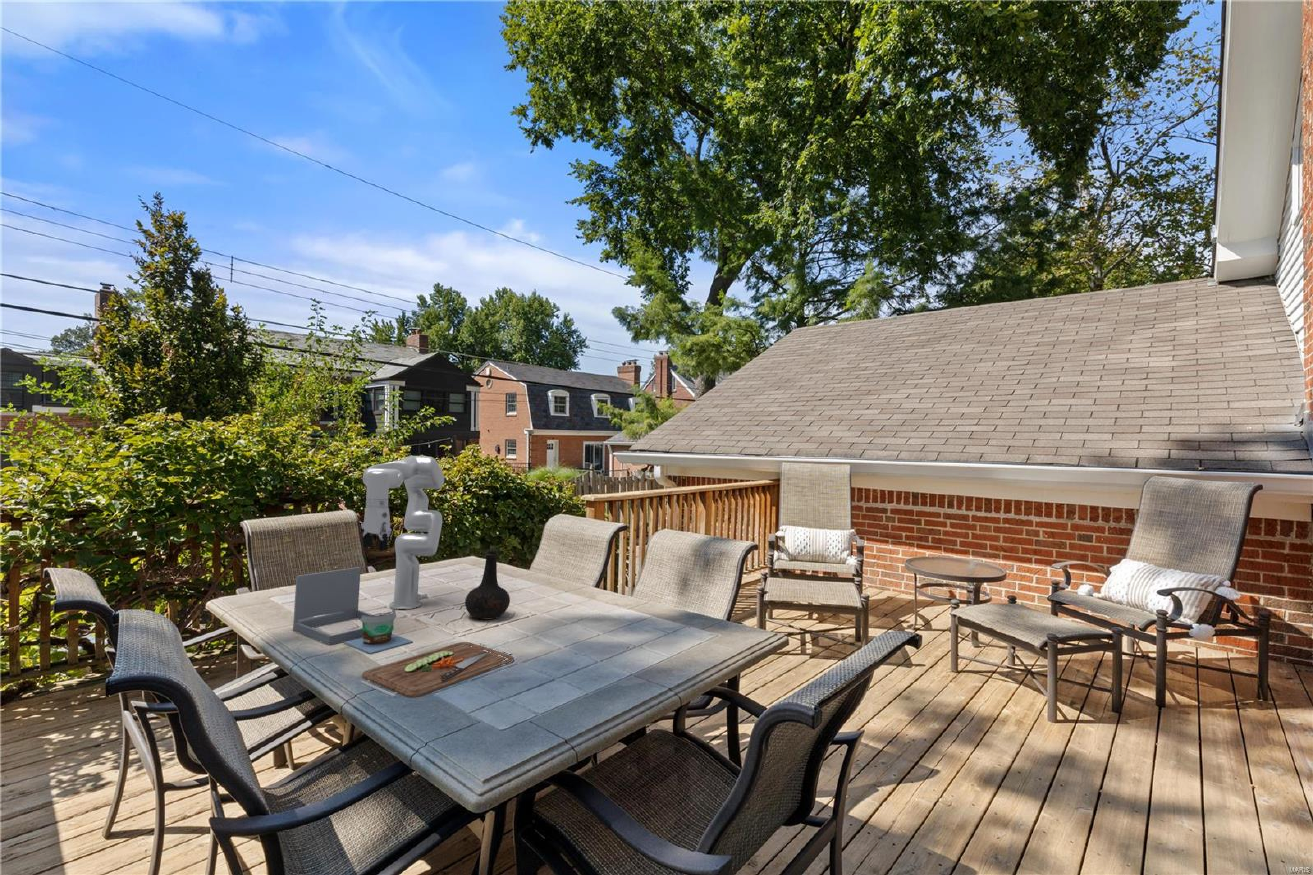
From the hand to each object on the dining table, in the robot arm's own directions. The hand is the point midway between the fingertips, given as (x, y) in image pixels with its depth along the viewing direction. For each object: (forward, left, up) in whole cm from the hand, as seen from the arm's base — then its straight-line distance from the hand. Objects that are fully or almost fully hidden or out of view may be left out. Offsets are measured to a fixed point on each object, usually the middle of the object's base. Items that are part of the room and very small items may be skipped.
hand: (375, 548), depth 220 cm
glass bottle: (-41, +17, -31) cm, 54 cm away
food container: (+6, +16, -30) cm, 35 cm away
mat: (+6, +15, -31) cm, 35 cm away
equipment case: (+6, -7, -31) cm, 32 cm away
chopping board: (+6, +50, -32) cm, 59 cm away
